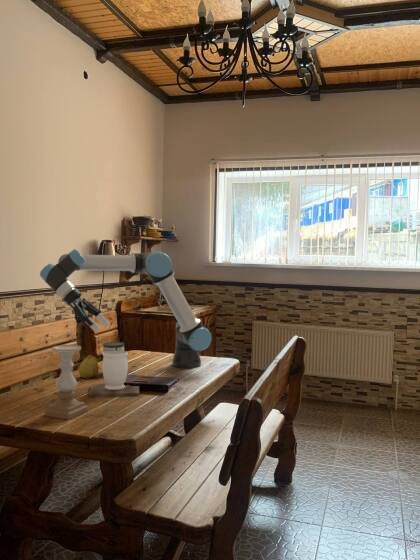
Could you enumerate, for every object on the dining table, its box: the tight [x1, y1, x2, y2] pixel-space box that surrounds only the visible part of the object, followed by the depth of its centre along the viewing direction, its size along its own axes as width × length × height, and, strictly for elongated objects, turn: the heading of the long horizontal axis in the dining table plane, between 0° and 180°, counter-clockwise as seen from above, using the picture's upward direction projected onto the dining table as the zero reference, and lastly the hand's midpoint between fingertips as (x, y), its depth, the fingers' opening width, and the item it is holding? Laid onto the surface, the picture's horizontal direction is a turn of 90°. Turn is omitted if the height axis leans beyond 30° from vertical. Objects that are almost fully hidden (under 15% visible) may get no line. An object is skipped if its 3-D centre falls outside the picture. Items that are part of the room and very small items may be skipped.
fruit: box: [78, 351, 100, 379], centre depth 229 cm, size 9×9×12 cm
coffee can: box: [102, 341, 125, 359], centre depth 239 cm, size 10×10×14 cm
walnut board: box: [88, 383, 140, 398], centre depth 207 cm, size 20×16×1 cm
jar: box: [101, 350, 129, 390], centre depth 207 cm, size 11×10×15 cm
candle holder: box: [44, 344, 89, 421], centre depth 176 cm, size 11×11×24 cm
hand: (103, 327), depth 215 cm, fingers open, 13 cm apart
